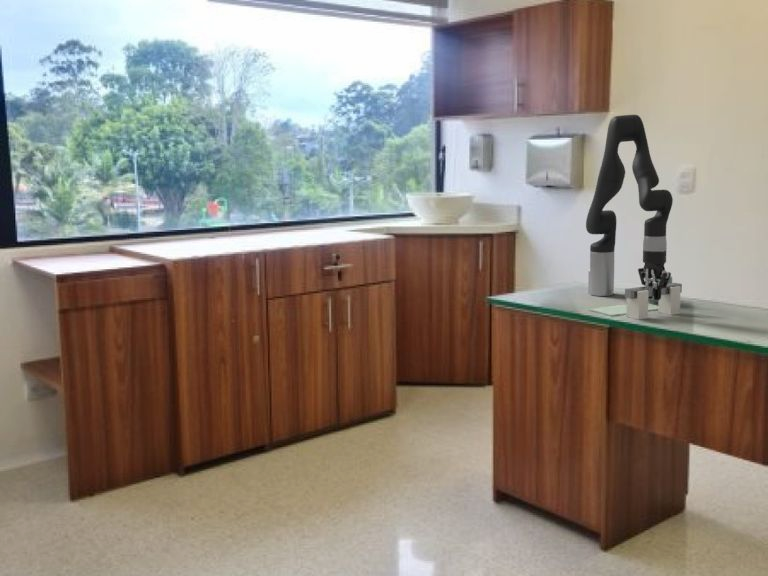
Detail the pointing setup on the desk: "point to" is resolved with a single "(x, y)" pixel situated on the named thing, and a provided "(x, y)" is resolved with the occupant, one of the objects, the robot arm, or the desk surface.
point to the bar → (649, 290)
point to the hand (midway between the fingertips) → (653, 298)
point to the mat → (618, 309)
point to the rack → (666, 305)
